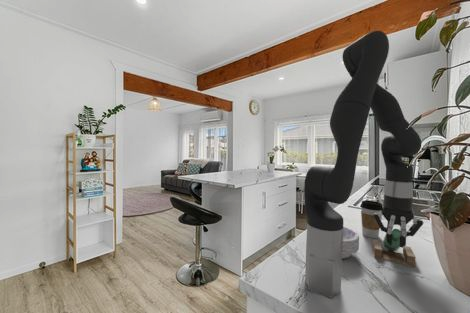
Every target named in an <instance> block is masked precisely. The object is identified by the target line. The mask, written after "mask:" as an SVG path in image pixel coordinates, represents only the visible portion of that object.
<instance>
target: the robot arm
mask: <svg viewBox="0 0 470 313" xmlns="http://www.w3.org/2000/svg"><path fill="white" fill-rule="evenodd" d="M389 41H390V40H389V38H388V36H387V34H386V33H385V32H384V31H383V30H373V31H371V32H369V33H367V34H365V35H362V36H361V37H360V38H358V39H357V40H355V41H353V42H352V43H351V44H349V45H347V46H346V47H345V48H344V50H343V51H342V62H343V66H344V67H345V70H346V71H347V72H348V74H349V76H350V77H351V79H350V80H349V82H348V83H347V84H346V86H345V87H344V88H343V90H342V91H341V92H340V94H339V95H338V97H337V99H336V100H335V103H334V105H333V109H332V111H331V115H330V118H329V128H330V131H331V133H332V136H333V138H334V141H335V144H336V147H337V154H336V162H335V164H334V167H332V166H331V167H330V166H321V165H315V166H312V167H310V168H309V169H308V171H307V173H306V175H305V178H304V183H303V184H304V187H303V188H304V191H303V192H304V212H305V215H306V240H305V241H306V242H305V244H306V245H305V246H306V247H305V248H306V250H305V277H304V278H305V279H304V280H305V284H306V286H307V291H310V292H313V293H316V294H318V295H319V294H320V295H322V296H324V297H328V298H330V299H333V298H334V296H336V295H339V293H340V292H341V291H342V270H343V269H342V267H343V266H342V265H343V259H342V244H343V227H344V217H343V216H342V215H341V214H340V213H339V212H337V211H336V210H335V209H334V208H333V207H332V206H331V205H330V204H329V203H334V204H338V205H343V204H344V203H346V202H347V201H348V200H349V198H350V196H351V194H352V191H353V186H354V181H355V176H356V170H357V168H356V167H357V165H358V164H357V162H358V157H359V150H360V147H361V143H362V139H363V135H364V131H365V128H366V125H367V122H368V118H369V115H370V112H371V111H372V112H371V113H373V115H374V119H375V121H376V124H377V125H378V128H379V130H380V131H382V132H386V133H387V132H388V133H390V134H388V135H386V136H385V137H384V138H383V139H382V141H381V144H380V150H381V153H382V154H381V155H382V159H383V163H384V165H385V181H384V187H383V188H384V189H383V206H382V207H383V209H382V211H381V212H379V213H376V212H375V213H373V215H374V218H375V219H376V221H377V223H378V225H379V227H380V229H379V230H380V231H381V232H384V233H385V235H386V241H387V243H389V245H392V231H393V228H394V226H395V225H396V226H400V227H399V228H400V229H399V230H400V231H401V233H402V234H401V236H400V242H399V245H400V248H403V246H406V245H407V244H406V243H407V237H414V236H415V235H416V233H417V232H418V231H419V230H420V229H421V227H422V226H423V225H424V221H423V220H422V219H421V218H418V217H416V216H415V215H414V213H413V201H414V200H413V199H414V198H413V197H414V184H413V180H414V179H413V178H414V168H413V167H414V166H413V165H412V164H410V163H407V162H405V161H404V160H403V158H402V156H405V157H409V156H415V155H416V154H418V153H419V152H420V151H421V149H422V139H421V137H420V135H419V134H418V132H417V131H416V129H414V127H413V126H412V125H411V127H409V128H408V126H409V124H410V123H409V121H407V119H406V118H405V116H404V113H403V111H402V108H401V105H400V103H399V100H397V98H396V97H395V96H394V95H393V94H392V93H391V92H389V90H386V89H385V88H384V87H382V86H381V85H379V83H378V82H379V79H380V77H381V74H382V71H383V68H384V67H385V64H386V62H387V59H388V56H389V51H390V42H389ZM370 110H371V111H370ZM406 128H408V129H407V130H406ZM409 165H410V166H409ZM407 166H408V168H407ZM382 217H384V219H385V221H387V225H386V226H385V225H384V224H383V222H382V219H383V218H382ZM380 219H381V220H380ZM411 221H412V225H411V226H410V228H408V230H407V224H409V223H410V222H411Z"/></svg>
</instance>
